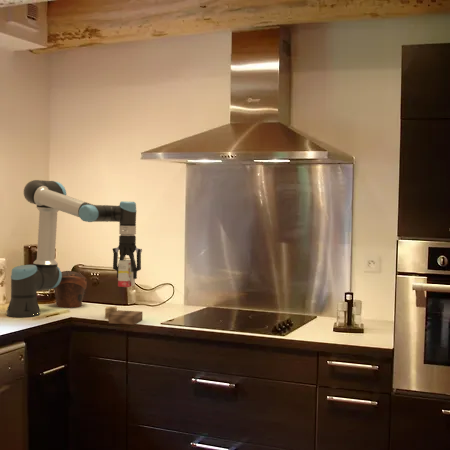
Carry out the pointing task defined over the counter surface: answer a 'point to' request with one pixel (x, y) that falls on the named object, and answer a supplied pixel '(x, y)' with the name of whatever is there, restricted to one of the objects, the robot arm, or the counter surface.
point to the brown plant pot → (70, 289)
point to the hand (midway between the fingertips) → (126, 285)
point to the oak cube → (109, 311)
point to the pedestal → (125, 317)
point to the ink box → (124, 273)
